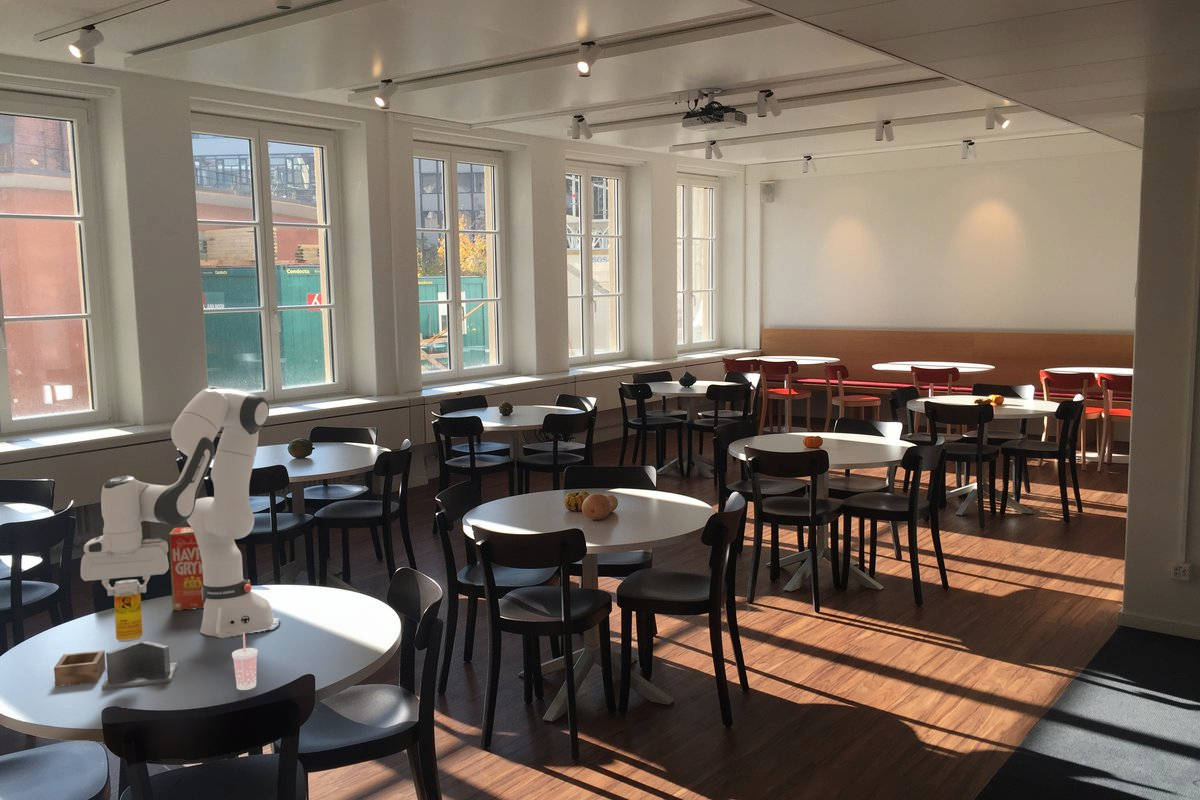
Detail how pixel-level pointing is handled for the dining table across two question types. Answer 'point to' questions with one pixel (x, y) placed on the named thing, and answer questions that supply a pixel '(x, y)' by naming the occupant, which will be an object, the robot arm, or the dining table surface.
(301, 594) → the dining table surface
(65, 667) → the walnut sleeve
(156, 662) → the V-block
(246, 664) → the beverage cup
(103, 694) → the dining table surface
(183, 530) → the food packaging
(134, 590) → the beer can
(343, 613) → the dining table surface
